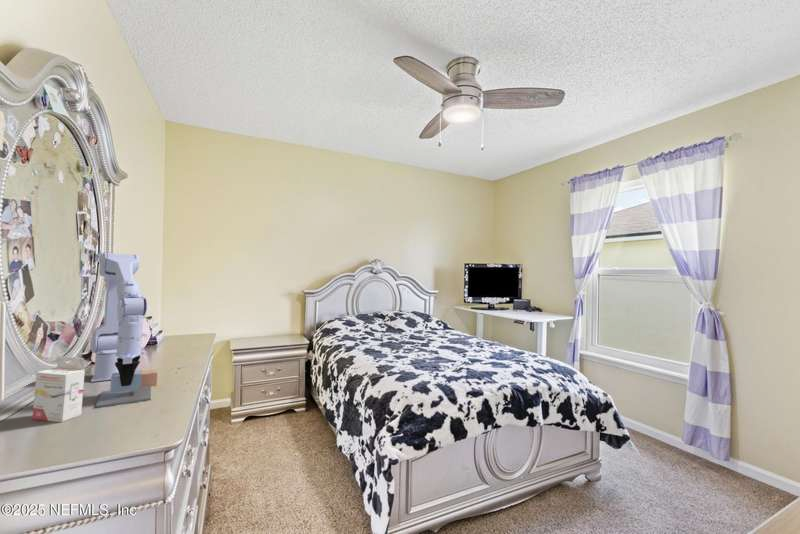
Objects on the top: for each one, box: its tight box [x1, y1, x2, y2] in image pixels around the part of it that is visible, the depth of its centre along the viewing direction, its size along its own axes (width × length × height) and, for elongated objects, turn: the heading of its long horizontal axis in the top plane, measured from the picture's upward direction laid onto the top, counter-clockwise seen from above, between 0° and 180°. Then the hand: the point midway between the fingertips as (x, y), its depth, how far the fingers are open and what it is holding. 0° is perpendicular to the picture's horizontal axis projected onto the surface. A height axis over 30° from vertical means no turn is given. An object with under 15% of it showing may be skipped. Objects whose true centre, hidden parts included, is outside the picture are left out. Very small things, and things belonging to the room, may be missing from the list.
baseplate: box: [95, 385, 152, 409], centre depth 101 cm, size 14×12×1 cm
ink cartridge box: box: [31, 355, 86, 423], centre depth 85 cm, size 9×5×15 cm, turn 84°
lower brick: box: [109, 369, 143, 393], centre depth 101 cm, size 4×7×4 cm, turn 127°
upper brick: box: [141, 369, 158, 387], centre depth 111 cm, size 4×7×4 cm, turn 130°
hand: (126, 383), depth 101 cm, fingers closed on lower brick, 4 cm apart
